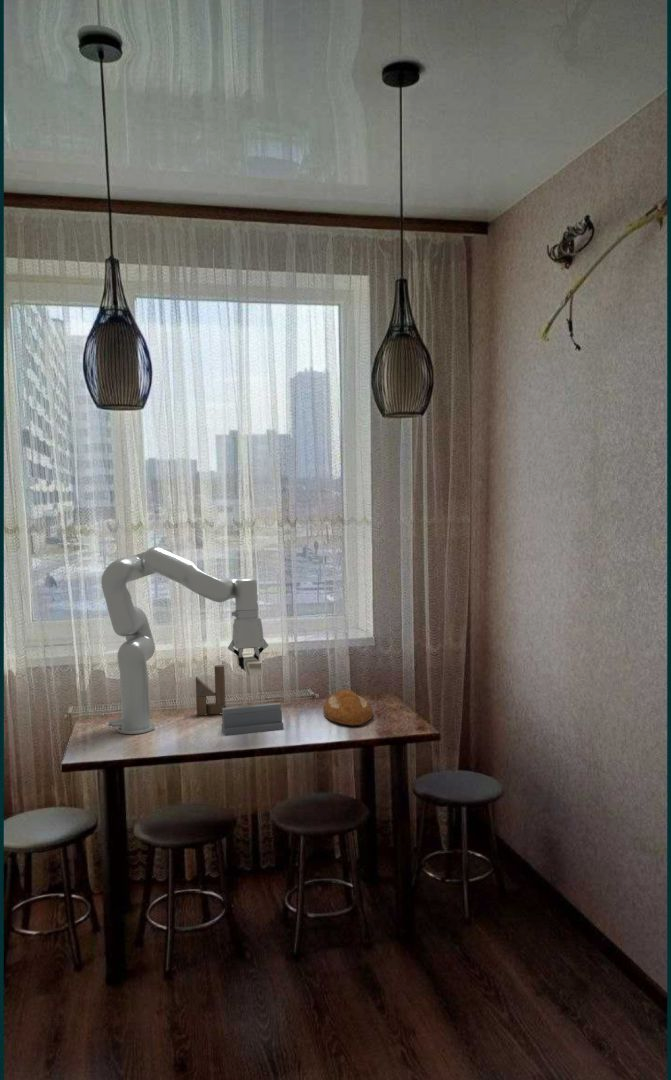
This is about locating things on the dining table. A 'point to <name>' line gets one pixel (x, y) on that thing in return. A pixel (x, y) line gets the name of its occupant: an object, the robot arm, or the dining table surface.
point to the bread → (347, 708)
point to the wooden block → (211, 694)
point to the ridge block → (252, 719)
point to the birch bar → (251, 664)
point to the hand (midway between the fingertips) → (248, 667)
